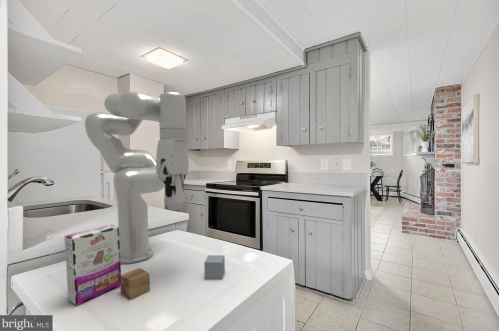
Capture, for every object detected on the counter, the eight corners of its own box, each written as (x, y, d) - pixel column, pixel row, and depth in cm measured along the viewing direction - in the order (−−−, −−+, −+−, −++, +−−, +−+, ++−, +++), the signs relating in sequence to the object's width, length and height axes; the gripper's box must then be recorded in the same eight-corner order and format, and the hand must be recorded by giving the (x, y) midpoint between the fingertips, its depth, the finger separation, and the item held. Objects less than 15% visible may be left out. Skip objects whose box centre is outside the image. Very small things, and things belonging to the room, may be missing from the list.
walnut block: (121, 294, 62) (120, 274, 62) (139, 285, 66) (139, 267, 66) (130, 300, 59) (130, 280, 59) (149, 291, 63) (149, 272, 63)
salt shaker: (178, 211, 68) (177, 165, 67) (160, 210, 69) (159, 165, 68) (188, 207, 73) (187, 164, 73) (171, 206, 74) (170, 164, 74)
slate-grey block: (204, 279, 69) (204, 262, 69) (208, 271, 74) (208, 255, 74) (222, 279, 68) (221, 262, 68) (224, 271, 73) (224, 255, 73)
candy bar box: (112, 281, 69) (110, 224, 68) (122, 285, 66) (120, 226, 66) (66, 301, 59) (63, 234, 59) (75, 307, 57) (73, 238, 56)
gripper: (178, 138, 79) (179, 194, 80) (142, 134, 64) (144, 202, 64) (198, 137, 77) (199, 194, 78) (166, 132, 62) (168, 204, 62)
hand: (174, 197), depth 71 cm, fingers closed on salt shaker, 3 cm apart
